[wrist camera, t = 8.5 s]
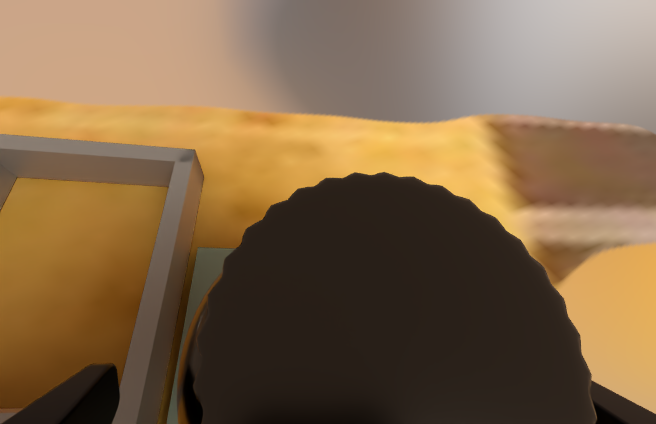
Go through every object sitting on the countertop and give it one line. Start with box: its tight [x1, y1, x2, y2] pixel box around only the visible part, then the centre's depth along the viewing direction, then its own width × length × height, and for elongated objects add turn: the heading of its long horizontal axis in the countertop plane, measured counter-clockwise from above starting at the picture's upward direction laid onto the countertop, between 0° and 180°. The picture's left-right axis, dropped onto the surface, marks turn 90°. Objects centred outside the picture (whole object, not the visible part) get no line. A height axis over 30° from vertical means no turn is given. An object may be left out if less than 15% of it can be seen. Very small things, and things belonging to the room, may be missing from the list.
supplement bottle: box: [177, 172, 597, 424], centre depth 9 cm, size 7×7×12 cm
